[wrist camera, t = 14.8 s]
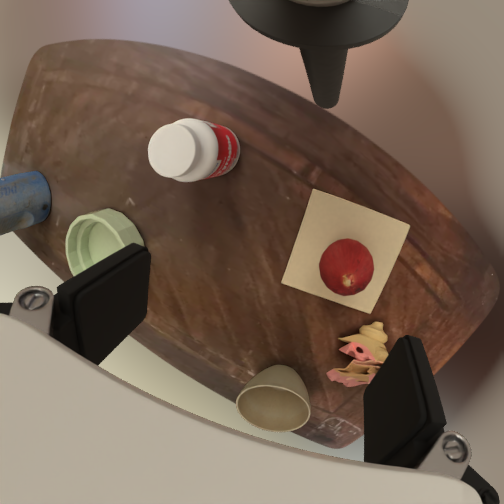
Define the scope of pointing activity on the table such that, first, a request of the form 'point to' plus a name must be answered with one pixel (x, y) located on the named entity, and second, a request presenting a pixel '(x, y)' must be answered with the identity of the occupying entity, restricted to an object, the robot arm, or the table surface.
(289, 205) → the table surface
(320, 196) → the cream square tile
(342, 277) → the onion
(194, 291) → the table surface
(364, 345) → the pink conch seashell
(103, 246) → the bowl
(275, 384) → the beige deep bowl
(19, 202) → the bottle
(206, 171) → the pill bottle
